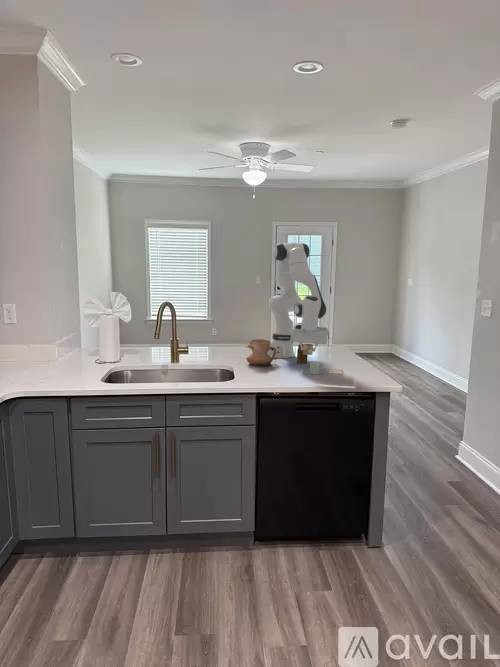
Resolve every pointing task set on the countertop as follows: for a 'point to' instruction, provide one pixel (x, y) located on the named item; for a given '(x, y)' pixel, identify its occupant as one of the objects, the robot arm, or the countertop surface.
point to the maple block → (308, 349)
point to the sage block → (314, 368)
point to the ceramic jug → (260, 352)
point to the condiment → (301, 356)
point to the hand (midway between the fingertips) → (308, 350)
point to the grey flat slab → (324, 372)
